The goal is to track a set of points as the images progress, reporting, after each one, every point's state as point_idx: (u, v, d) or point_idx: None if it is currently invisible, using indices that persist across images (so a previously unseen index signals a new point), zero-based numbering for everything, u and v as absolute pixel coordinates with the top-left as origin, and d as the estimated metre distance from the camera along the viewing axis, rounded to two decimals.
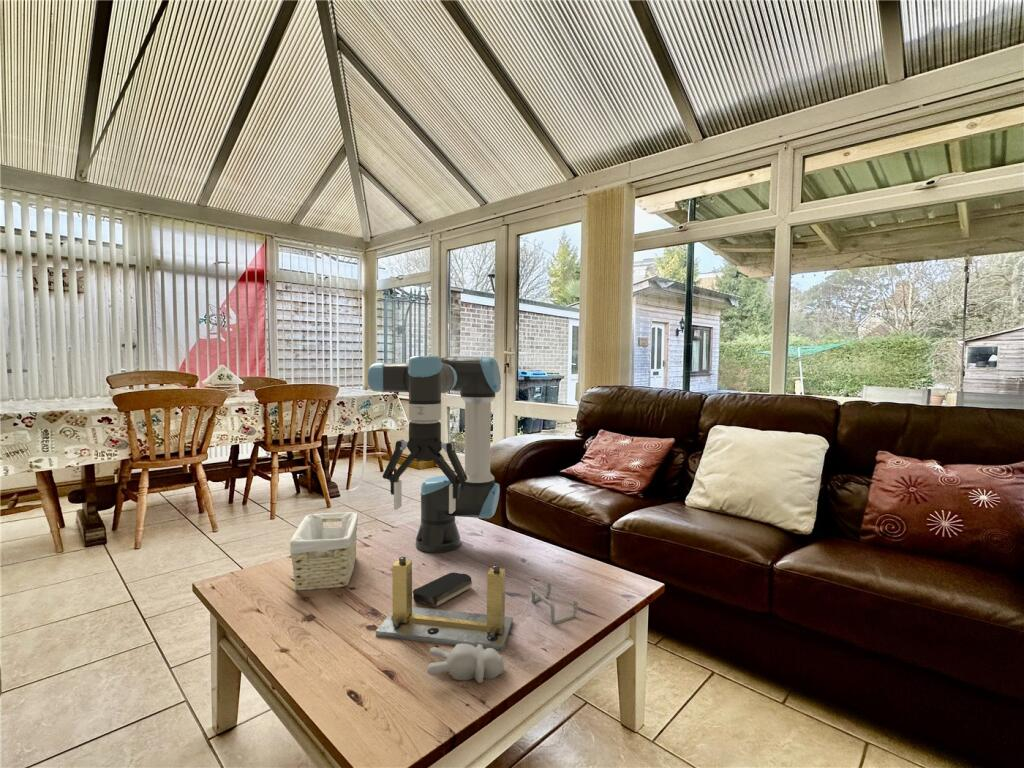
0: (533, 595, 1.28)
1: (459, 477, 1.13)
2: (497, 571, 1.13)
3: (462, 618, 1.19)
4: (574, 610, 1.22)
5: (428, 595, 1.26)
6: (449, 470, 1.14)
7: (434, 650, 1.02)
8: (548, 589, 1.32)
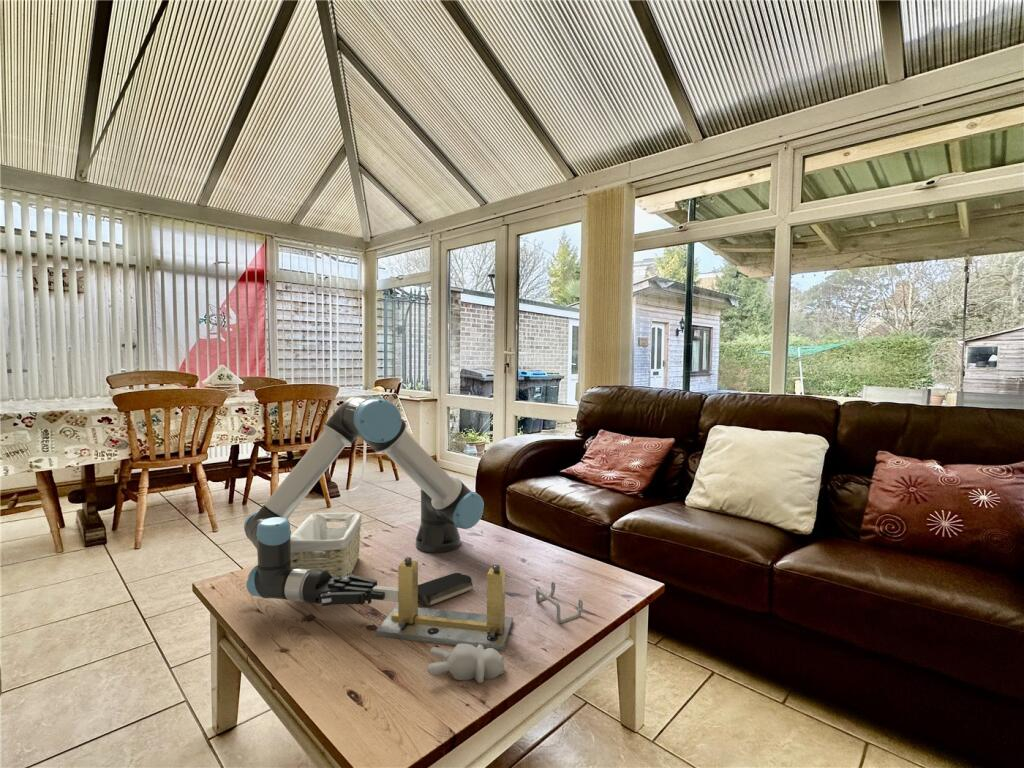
0: (538, 595, 1.29)
1: None
2: (497, 571, 1.13)
3: (462, 618, 1.19)
4: (579, 609, 1.23)
5: (422, 593, 1.27)
6: None
7: (434, 650, 1.02)
8: (552, 588, 1.32)
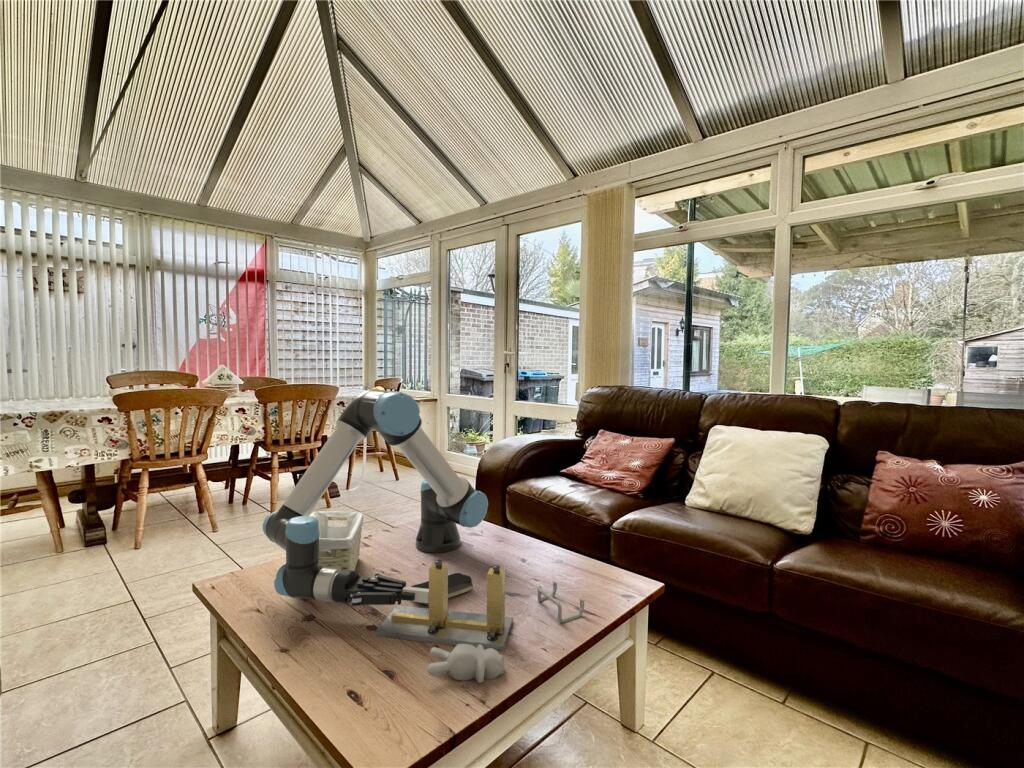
0: (539, 594, 1.29)
1: None
2: (497, 571, 1.13)
3: (462, 618, 1.19)
4: (581, 609, 1.23)
5: None
6: None
7: (434, 650, 1.02)
8: (554, 588, 1.33)
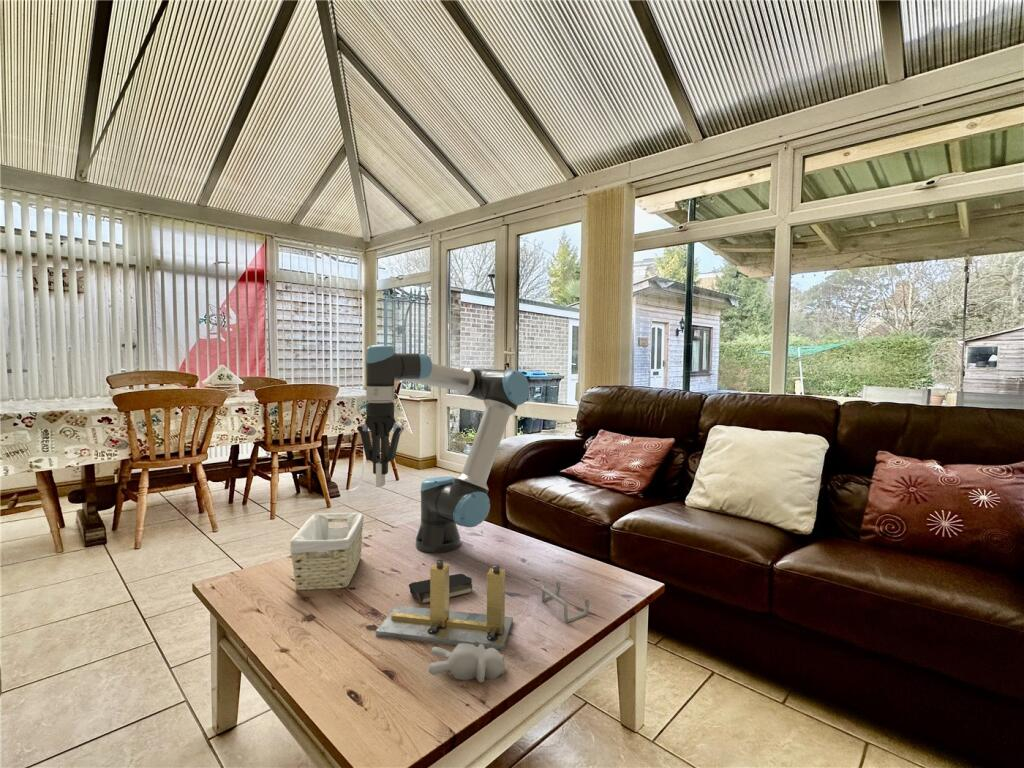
0: (543, 594, 1.29)
1: (389, 455, 1.35)
2: (497, 571, 1.13)
3: (462, 618, 1.19)
4: (586, 608, 1.23)
5: (416, 590, 1.28)
6: (386, 450, 1.35)
7: (435, 649, 1.02)
8: (557, 588, 1.33)
